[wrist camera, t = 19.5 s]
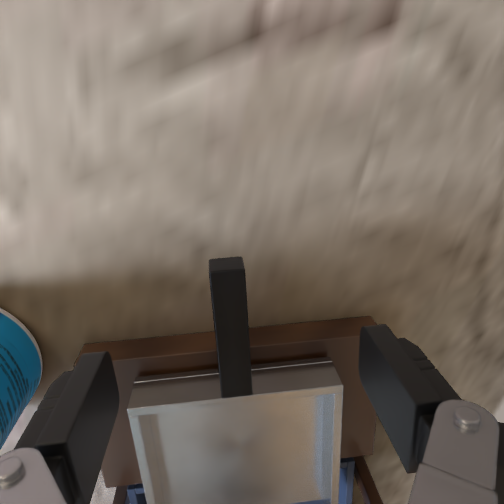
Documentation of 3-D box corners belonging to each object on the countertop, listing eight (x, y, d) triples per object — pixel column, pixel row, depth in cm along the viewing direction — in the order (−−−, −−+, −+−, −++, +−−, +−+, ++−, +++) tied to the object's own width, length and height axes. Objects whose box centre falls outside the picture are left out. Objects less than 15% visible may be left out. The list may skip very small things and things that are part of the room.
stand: (370, 315, 25) (408, 367, 20) (360, 463, 29) (389, 533, 25) (83, 343, 23) (52, 406, 19) (120, 493, 28) (103, 574, 23)
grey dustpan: (332, 241, 20) (348, 259, 18) (326, 492, 27) (337, 529, 25) (112, 259, 19) (99, 281, 17) (161, 513, 26) (157, 554, 24)
